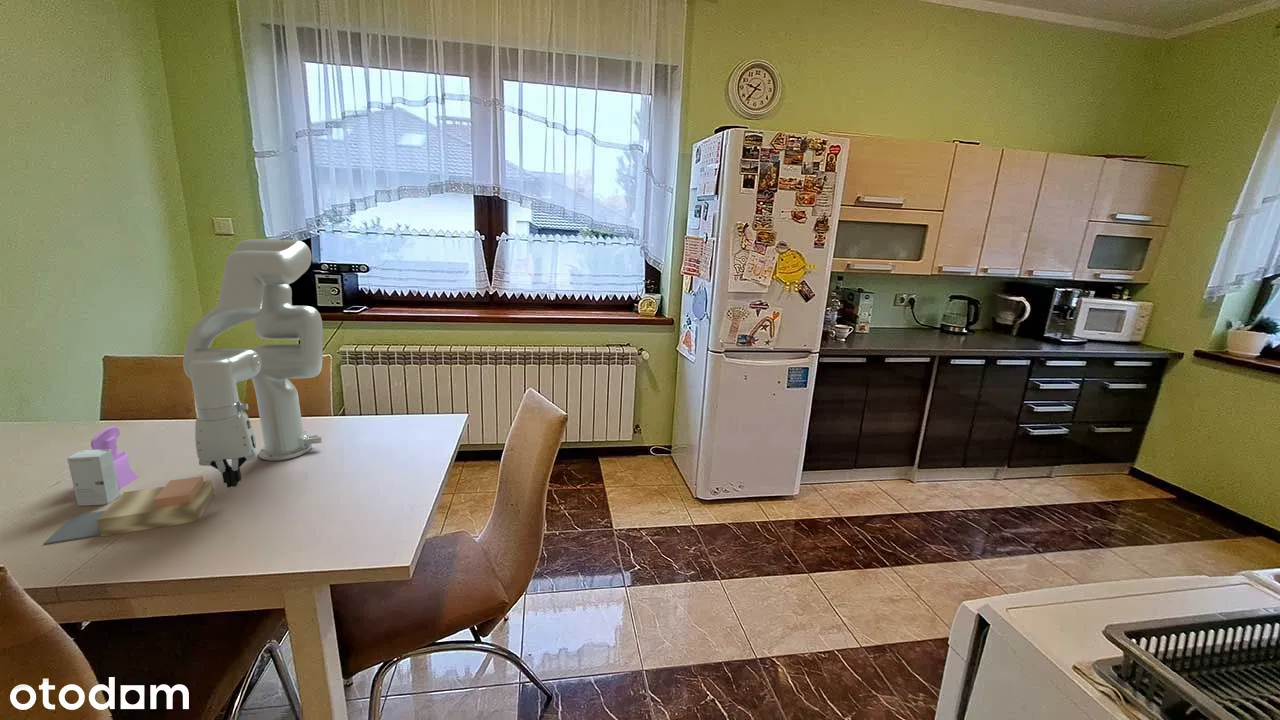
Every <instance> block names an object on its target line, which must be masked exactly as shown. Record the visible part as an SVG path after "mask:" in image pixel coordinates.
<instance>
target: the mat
mask: <svg viewBox="0 0 1280 720" xmlns="http://www.w3.org/2000/svg"><path fill="white" fill-rule="evenodd" d="M105 511H106V510H101V511H95V512H87V513H80V514H73V515H72V516H71V517H69V518H68V520H66V522H65V523H64V524H62V526H60V527H59V528H58V529H57V530H56V531H55V532H54V533H53V534H51V536H50V537H48V538H47V539H46V540H45V541H44V542H43V545H48V544H49V545H51V544H56V543H61V542H68V541H73V540H74V541H75V540H82V539H87V538H93V537H94V538H95V537H99V536H101V533H100V530H99V526H98V522H97V519H98V518H99V517H100V516H101V515H102V514H103V513H104V512H105Z"/></svg>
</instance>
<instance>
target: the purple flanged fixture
mask: <svg viewBox="0 0 1280 720" xmlns="http://www.w3.org/2000/svg"><path fill="white" fill-rule="evenodd" d="M120 434H121V431H120V428H119V427H118V426H115V425H111V426H108V427H107V428H104V429H102V430H101V431H99V432H98V433H97V434H96V435H94V437H93V438H92V439H91V441H90V447H91V450H112V456H113V461H114V466H115V471H116V476H117V481H118V486H119V490H121V489H123V488H124V487H126V486H128V485H129V484H131V483H132V482H134V481H135V480H137V479H138V478H139V476H138V475H137V474H136V473H135V472H134V471H133V470H132V468H131V466H130V461H129V460H130V459H129V456H128V455H127V454H126V451H125V450H118V443H117V439H118V438H119V437H120Z"/></svg>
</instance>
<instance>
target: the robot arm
mask: <svg viewBox="0 0 1280 720" xmlns="http://www.w3.org/2000/svg"><path fill="white" fill-rule="evenodd" d="M312 259H313V258H312V252H311V249H310V247H309V246H308V245H307V244H306V243H305V242H303V241H301V240H297V239H296V240H295V239H270V238H269V239H267V238H260V239H259V238H255V239H253V238H252V239H251V238H250V239H245V240H241V241H239V242H237V243H236V245H235V247H234V252H231V253H230V254H229V255H227V258H226V260H225V264H224V268H223V275H222V279H221V284H220V291H219V296H218V302H217V305H216V306H215V307H214V308H212V309H211V310H210V311H208V313H206V314H205V315H204V316H203V317H201V319H199V321H198V322H197V323H196V324H195V325H194V326H193V327H192V329H191V330H190V332H189V333H188V335H187V339H186V342H185V347H184V351H183V358H182V359H183V360H182V366H183V371H184V373H185V375H186V376H187V377H188V379H190V381H191V385H192V391H193V396H194V400H195V406H196V410H197V415H198V417H197V418H196V420H195V425H194V438H195V440H194V441H195V450H196V455H197V458H198V465H199V466H206V467H212V468H214V469H216V470H218V472H219V473H221V476H222V479H223V484H226V488H228V489H229V488H231V487H233V488H234V487H235V488H236V487H237V486H238V484H239V482H241V481H242V472H241V469H240V467H242V466H243V464H244V463H246V462H249V461H253V460H255V459H256V458H257V457H258V456H259V458H260V459H262V460H265V461H270V462H271V461H284V460H290V459H294V458H297V457H299V456H302V455H304V454H306V453H309V451H311V449H312V444H315V445H317V444H322V443H323V436H322V435H320V436H319V434H313V435H312V434H311V435H309V434H307V431H306V430H304V428H303V420H302V413H301V407H300V400H299V394H298V390H297V388H296V386H295V385H294V384H293V382H292V381H290V380H289V379H311V378H315V377H317V376H318V375H320V373H321V371H322V367H323V351H324V350H323V343H324V342H323V339H324V338H323V335H324V333H323V332H324V330H323V320H322V316H321V314H320V312H319V311H318V309H317V308H315V307H313V306H309V305H293V300H292V299H293V298H292V297H293V293H292V292H293V290H292V287H291V286H290V284H293V283H294V282H296V281H297V280H298V279H300V277H302V275H304V274H305V273H306V272H307V271H308V270H309V268H310V266H311V263H312ZM251 320H253V326H254V327H253V328H254V333H256V336H257V337H259V338H261V339H263V340H271V341H272V340H273V341H279V340H280V341H284V340H285V341H286V340H287V341H291V340H292V341H295V340H299V341H300V343H294V344H293V343H292V344H291V343H290V344H287V343H286V344H285V343H283V344H282V343H281V344H280V343H278V344H275V343H274V344H262V345H257V346H255V347H252V348H251V349H250V348H235V347H234V348H211V345H212V344H213V342H214V340H215V339H216V338H217V337H218V336H220V335H221V334H222V333H223V332H225V331H227V330H229V329H232V328H234V327H236V326H238V325H242V324H243V323H246V322H248V321H251ZM250 379H251V381H252V385H253V388H254V391H255V396H256V402H257V403H256V404H257V409H258V415H259V421H260V428H261V433H262V439H263V445H264V446H263V447H262V448H261V449H260V450H259V451H258V453H257V451H256V447H257V442H256V438H255V437H256V436H255V433H254V431H253V426H252V423H251V421H250V418H249V416H248V414H247V412H246V411H247V410H249V404H248V403H242V402H241V400H240V397H239V392H238V386H237V383H240V382H245V381H248V380H250ZM245 410H246V411H245ZM228 460H231V464H230V465H231V466H230V465H229V461H228Z"/></svg>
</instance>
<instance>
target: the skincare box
mask: <svg viewBox="0 0 1280 720" xmlns="http://www.w3.org/2000/svg"><path fill="white" fill-rule="evenodd" d="M66 460H67V463H68V468H69V472H70V476H71V481H72V482H71V483H72V486H73V489H74V494H75V499H76V503H77V505H78V507H81V506H100V505H109V504H111V502H114V501H116V500H117V499H118V498H119V497H120V496H121V491H120V489H119V486H118V481H117V476H116V471H115V466H114V461H113V456H112V450H93V449H90V450H89V449H88V450H87V449H86V450H84V449H83V450H82V449H81V450H79V451H77V452H76V453H74V454H72V455H70V456H68V457H67V459H66Z"/></svg>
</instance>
